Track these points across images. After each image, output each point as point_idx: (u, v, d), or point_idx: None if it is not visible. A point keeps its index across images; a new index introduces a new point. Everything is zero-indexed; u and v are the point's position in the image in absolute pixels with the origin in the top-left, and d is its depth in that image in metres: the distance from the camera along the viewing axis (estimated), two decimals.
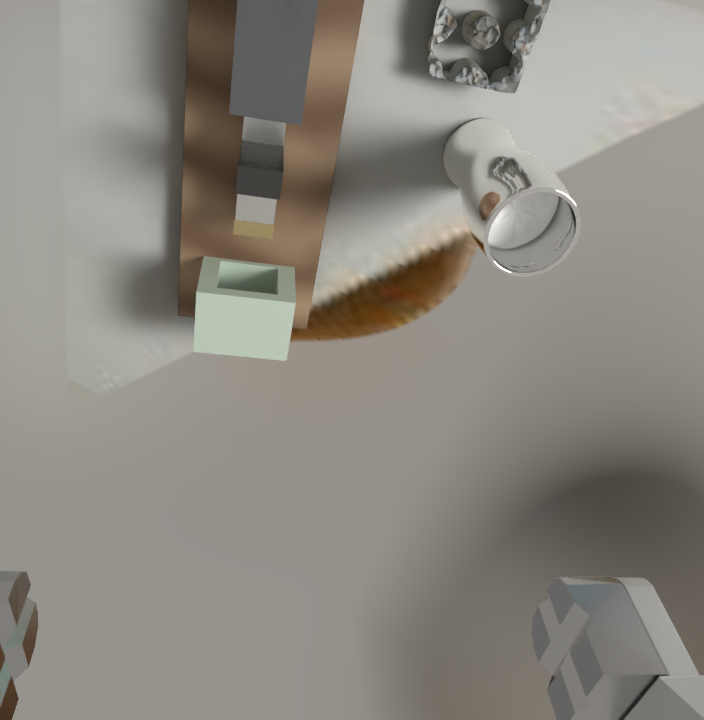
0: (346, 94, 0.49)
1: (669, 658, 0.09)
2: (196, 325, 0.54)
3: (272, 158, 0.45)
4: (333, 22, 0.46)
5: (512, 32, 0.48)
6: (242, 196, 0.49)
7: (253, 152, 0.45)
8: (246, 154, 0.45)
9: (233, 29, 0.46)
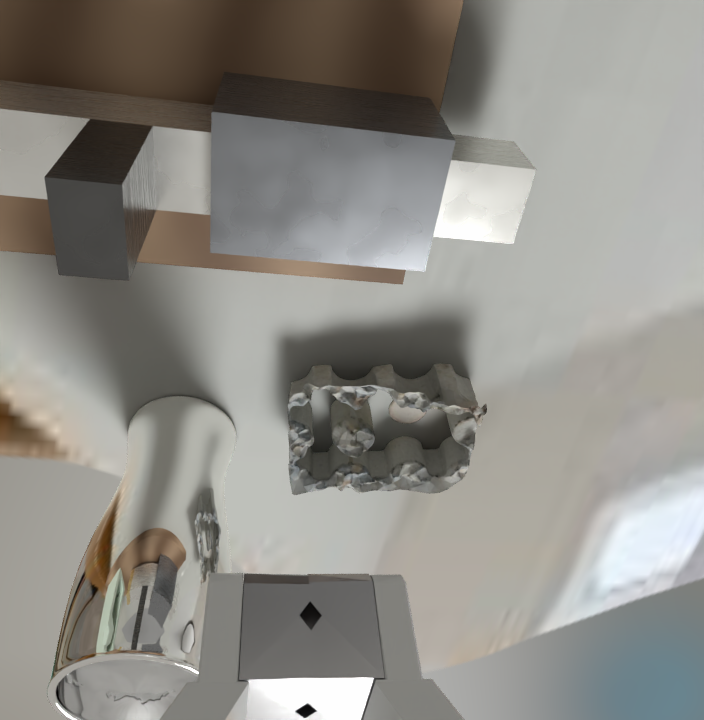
0: (250, 269, 0.30)
1: (394, 660, 0.09)
2: None
3: (140, 224, 0.21)
4: None
5: (356, 457, 0.37)
6: (18, 123, 0.21)
7: (143, 175, 0.20)
8: (138, 170, 0.20)
9: (341, 76, 0.25)
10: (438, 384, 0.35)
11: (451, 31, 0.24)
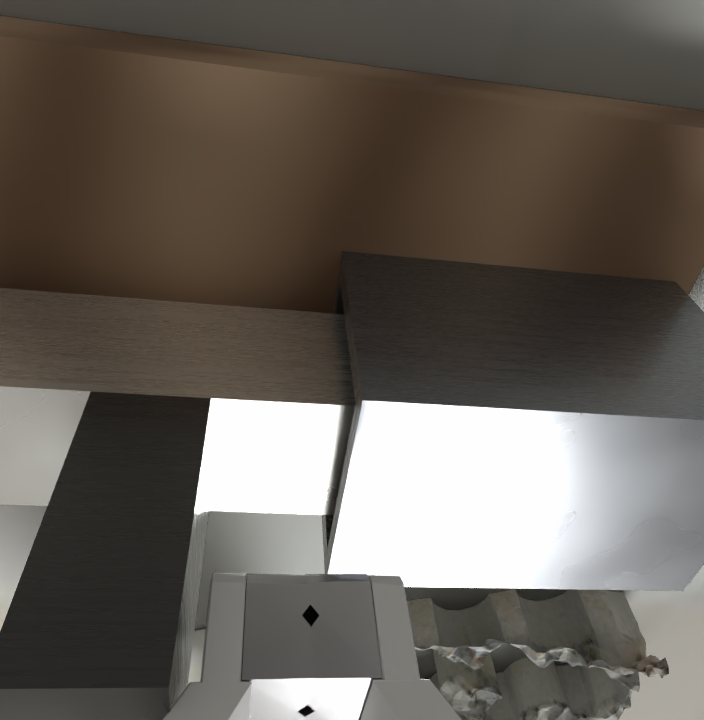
0: None
1: (392, 660, 0.09)
2: None
3: (192, 618, 0.10)
4: None
5: None
6: None
7: (197, 528, 0.10)
8: (192, 545, 0.09)
9: (536, 254, 0.15)
10: (587, 621, 0.24)
11: None
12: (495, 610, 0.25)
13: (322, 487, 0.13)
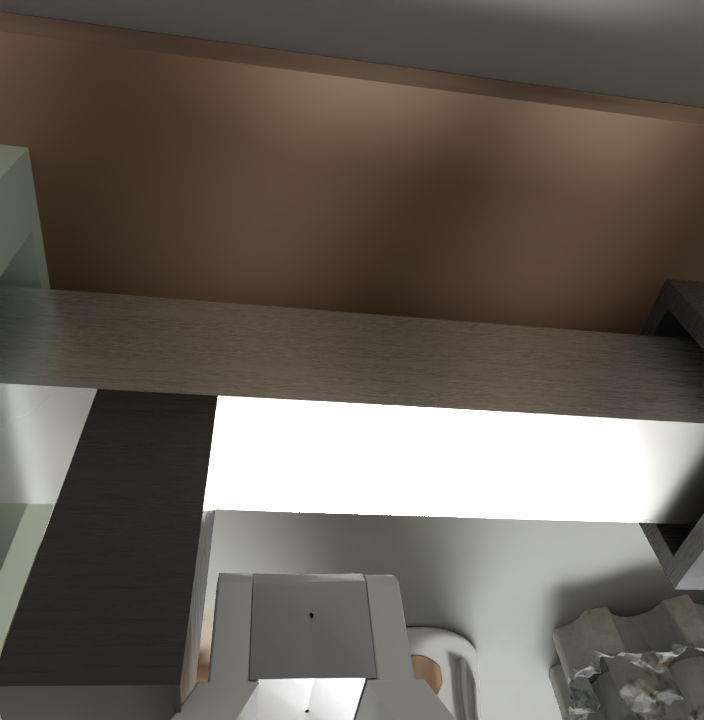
0: None
1: (387, 661, 0.09)
2: None
3: (200, 616, 0.10)
4: None
5: None
6: None
7: (205, 525, 0.10)
8: (201, 543, 0.09)
9: None
10: None
11: None
12: (673, 616, 0.26)
13: (328, 485, 0.13)
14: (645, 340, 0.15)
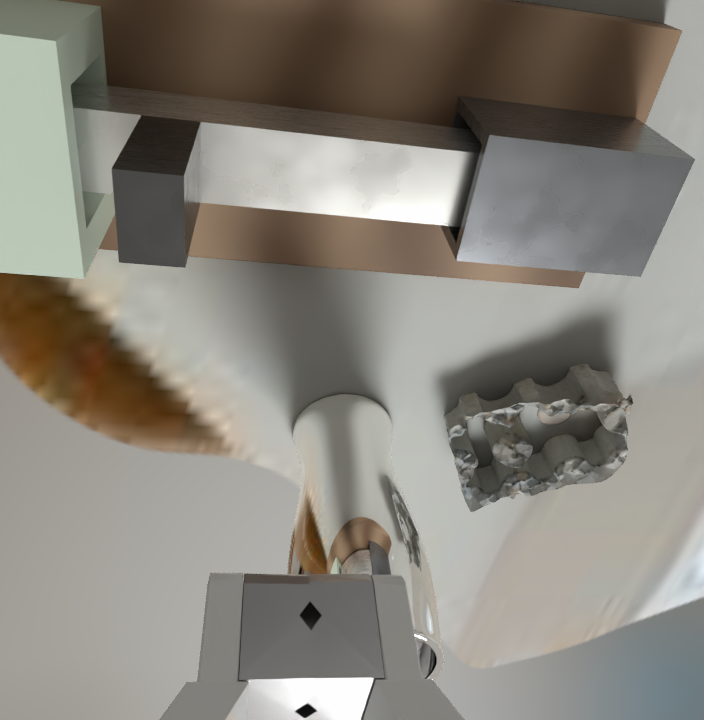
0: (444, 275, 0.32)
1: (394, 660, 0.09)
2: None
3: (192, 215, 0.22)
4: None
5: None
6: None
7: (194, 168, 0.21)
8: (192, 163, 0.21)
9: (560, 99, 0.27)
10: (579, 386, 0.37)
11: (666, 58, 0.27)
12: (518, 390, 0.38)
13: (260, 187, 0.24)
14: (444, 127, 0.26)
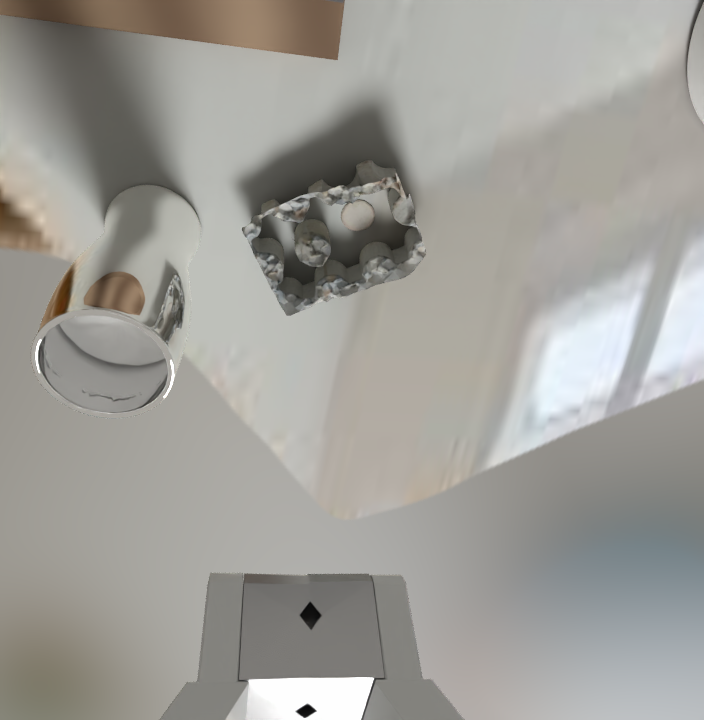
0: (205, 40, 0.35)
1: (394, 660, 0.09)
2: None
3: None
4: (296, 15, 0.34)
5: (330, 271, 0.44)
6: None
7: None
8: None
9: None
10: (358, 176, 0.40)
11: None
12: None
13: None
14: None
